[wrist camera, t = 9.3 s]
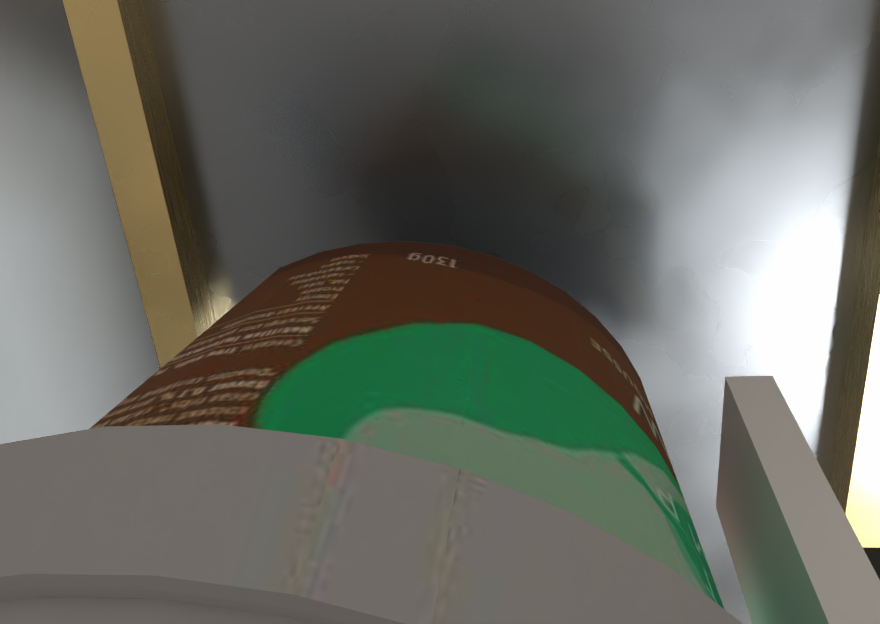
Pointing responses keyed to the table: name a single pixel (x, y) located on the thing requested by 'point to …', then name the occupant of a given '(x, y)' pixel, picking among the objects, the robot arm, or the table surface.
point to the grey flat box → (533, 181)
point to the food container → (366, 466)
